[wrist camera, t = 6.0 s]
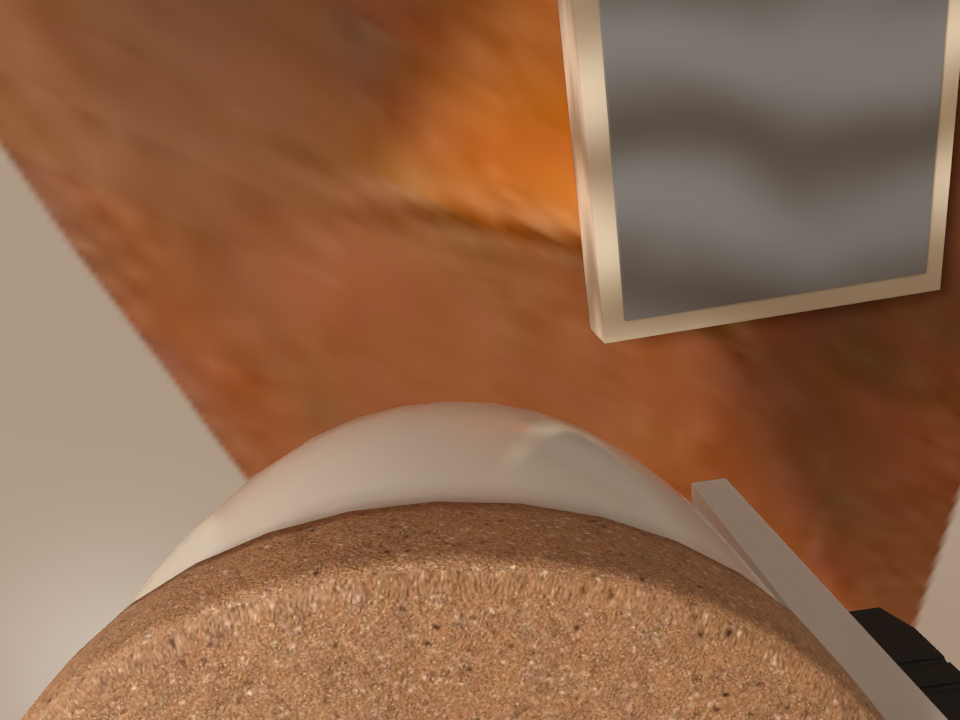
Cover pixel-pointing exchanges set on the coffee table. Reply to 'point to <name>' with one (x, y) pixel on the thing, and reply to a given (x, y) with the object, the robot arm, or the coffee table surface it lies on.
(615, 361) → the coffee table surface
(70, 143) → the coffee table surface
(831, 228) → the stand
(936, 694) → the robot arm
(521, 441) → the lidded jar
